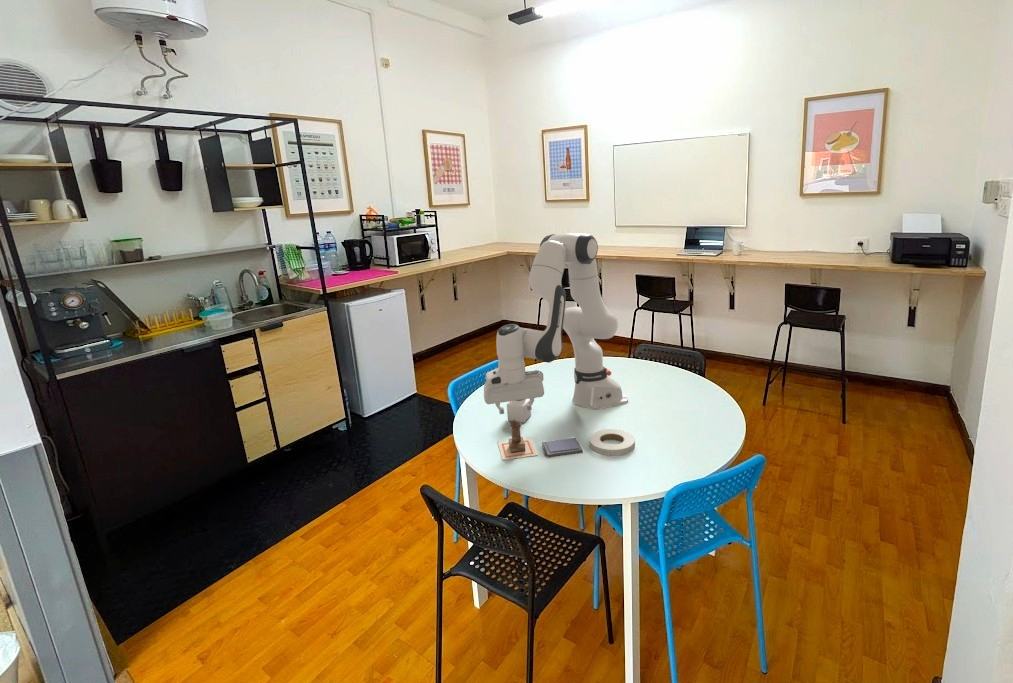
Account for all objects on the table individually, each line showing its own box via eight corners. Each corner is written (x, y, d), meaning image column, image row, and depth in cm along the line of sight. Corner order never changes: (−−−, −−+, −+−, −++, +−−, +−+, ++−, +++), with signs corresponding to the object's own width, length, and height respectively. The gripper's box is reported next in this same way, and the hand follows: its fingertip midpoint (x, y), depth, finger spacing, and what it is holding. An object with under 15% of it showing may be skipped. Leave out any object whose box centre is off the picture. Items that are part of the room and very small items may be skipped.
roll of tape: (586, 436, 184) (586, 429, 183) (629, 434, 183) (629, 427, 182) (592, 458, 169) (592, 451, 168) (639, 456, 168) (639, 448, 167)
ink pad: (575, 440, 181) (575, 436, 180) (583, 453, 172) (582, 449, 172) (542, 445, 179) (542, 441, 179) (548, 457, 171) (547, 453, 170)
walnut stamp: (522, 444, 180) (521, 415, 177) (525, 451, 176) (523, 421, 172) (508, 446, 180) (506, 417, 177) (511, 453, 175) (508, 423, 172)
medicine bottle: (531, 415, 203) (529, 387, 199) (524, 423, 197) (522, 394, 193) (514, 413, 206) (513, 385, 202) (507, 420, 200) (505, 392, 196)
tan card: (530, 439, 184) (530, 438, 184) (537, 455, 173) (537, 454, 173) (497, 443, 183) (497, 442, 183) (502, 460, 171) (502, 459, 171)
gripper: (540, 366, 174) (543, 403, 178) (481, 374, 171) (485, 411, 176) (545, 372, 168) (547, 411, 172) (483, 381, 165) (487, 419, 170)
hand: (515, 411), depth 174 cm, fingers open, 8 cm apart
